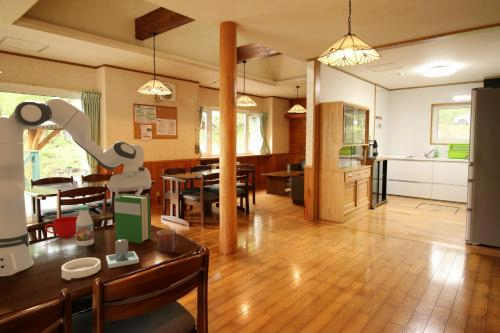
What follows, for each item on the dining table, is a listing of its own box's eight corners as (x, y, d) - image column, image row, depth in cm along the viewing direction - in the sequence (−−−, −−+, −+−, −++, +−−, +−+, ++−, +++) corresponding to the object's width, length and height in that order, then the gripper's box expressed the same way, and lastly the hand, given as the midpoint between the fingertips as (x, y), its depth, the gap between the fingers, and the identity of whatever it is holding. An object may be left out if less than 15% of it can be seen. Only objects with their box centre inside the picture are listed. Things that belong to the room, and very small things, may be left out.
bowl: (61, 283, 120) (61, 274, 120) (62, 269, 132) (61, 261, 132) (102, 275, 127) (101, 266, 126) (99, 263, 139) (98, 255, 139)
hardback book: (150, 239, 172) (149, 195, 170) (141, 243, 165) (140, 198, 163) (125, 235, 178) (124, 193, 176) (115, 239, 172) (114, 195, 169)
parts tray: (109, 269, 132) (108, 264, 132) (106, 261, 141) (106, 255, 141) (138, 264, 138) (138, 258, 138) (134, 256, 147) (134, 250, 147)
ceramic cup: (42, 238, 173) (41, 220, 172) (76, 232, 185) (75, 215, 184) (49, 244, 164) (48, 225, 163) (83, 236, 176) (83, 219, 175)
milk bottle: (75, 243, 164) (73, 206, 162) (91, 240, 169) (89, 204, 167) (79, 247, 158) (77, 208, 156) (95, 244, 163) (93, 206, 161)
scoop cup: (116, 264, 136) (116, 242, 135) (115, 260, 140) (114, 239, 140) (129, 261, 138) (128, 240, 138) (127, 257, 143) (126, 237, 142)
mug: (179, 252, 152) (179, 231, 151) (163, 257, 146) (162, 235, 145) (166, 246, 161) (165, 226, 160) (150, 250, 154) (149, 230, 154)
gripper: (108, 171, 155) (102, 195, 147) (150, 167, 154) (146, 192, 146) (114, 178, 160) (108, 201, 152) (154, 175, 160) (150, 198, 151)
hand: (127, 197), depth 149 cm, fingers open, 8 cm apart
